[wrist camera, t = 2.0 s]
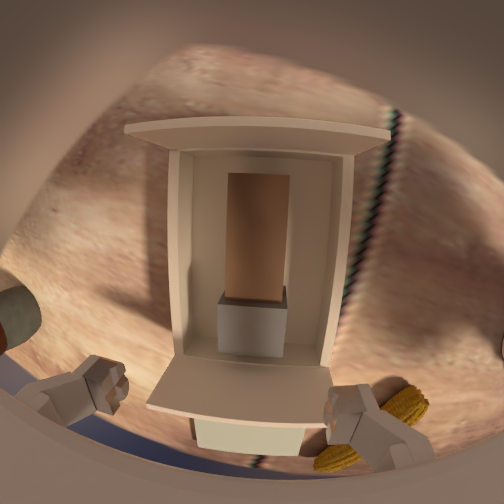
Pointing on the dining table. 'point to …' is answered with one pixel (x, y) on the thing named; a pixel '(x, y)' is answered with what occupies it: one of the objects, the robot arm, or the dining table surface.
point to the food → (400, 406)
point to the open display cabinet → (295, 272)
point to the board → (248, 438)
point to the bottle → (17, 317)
